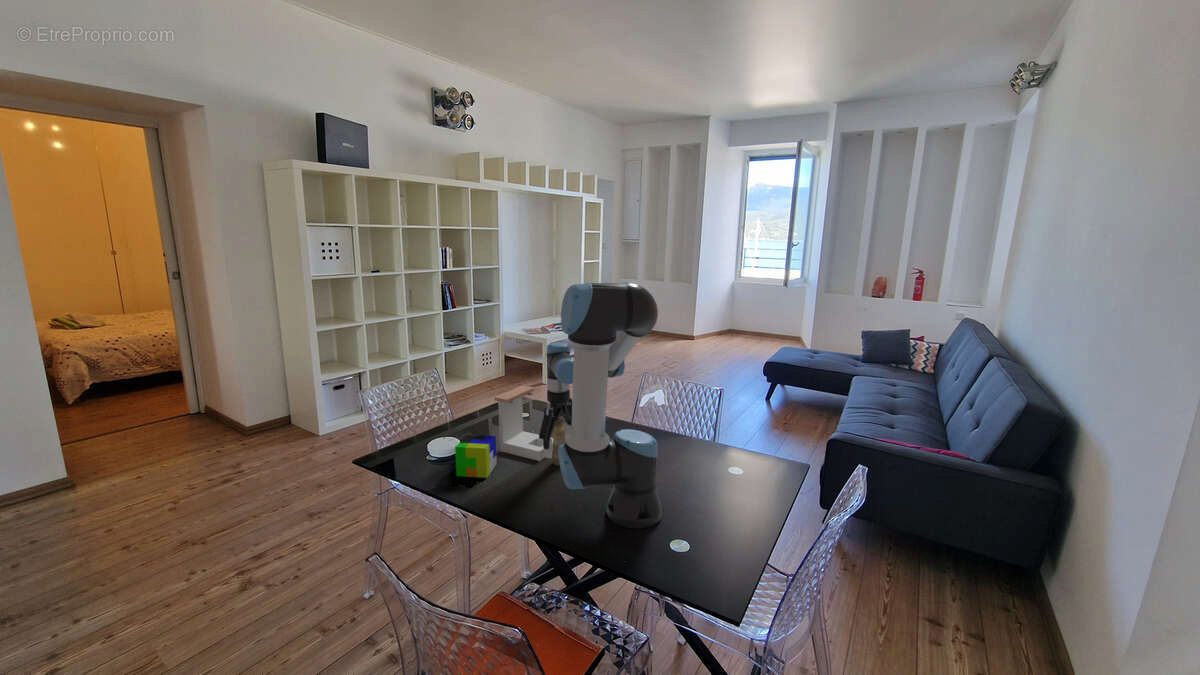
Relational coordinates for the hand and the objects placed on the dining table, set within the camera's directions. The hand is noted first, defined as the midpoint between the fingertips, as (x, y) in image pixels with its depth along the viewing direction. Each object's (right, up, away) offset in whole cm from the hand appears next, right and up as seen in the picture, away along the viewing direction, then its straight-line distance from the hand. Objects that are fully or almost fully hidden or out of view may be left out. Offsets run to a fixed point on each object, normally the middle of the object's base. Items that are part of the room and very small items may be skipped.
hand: (558, 449), depth 165 cm
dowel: (0, -5, +1) cm, 5 cm away
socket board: (-12, -2, +11) cm, 16 cm away
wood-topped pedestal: (-17, +2, +13) cm, 21 cm away
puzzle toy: (-26, -6, -5) cm, 27 cm away
